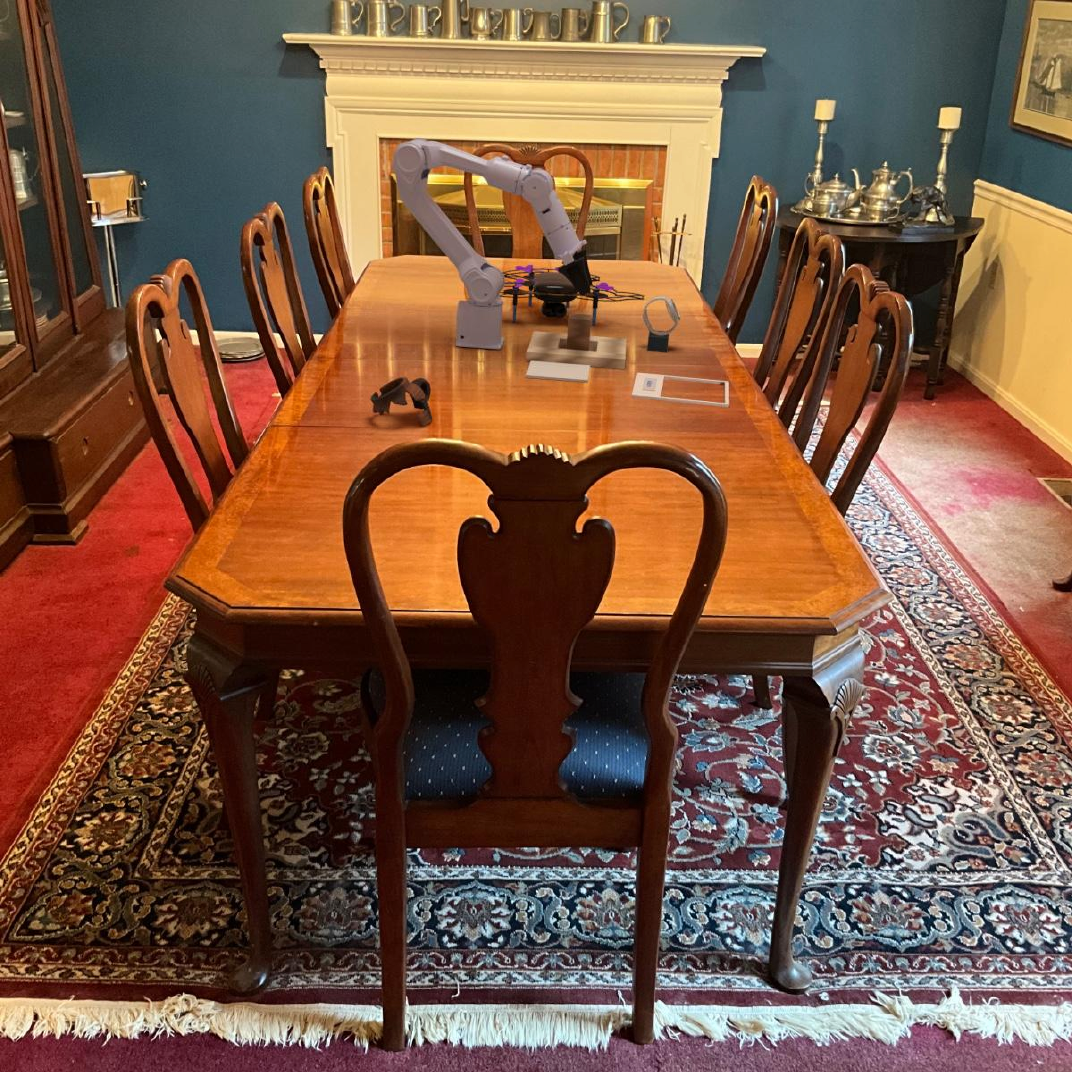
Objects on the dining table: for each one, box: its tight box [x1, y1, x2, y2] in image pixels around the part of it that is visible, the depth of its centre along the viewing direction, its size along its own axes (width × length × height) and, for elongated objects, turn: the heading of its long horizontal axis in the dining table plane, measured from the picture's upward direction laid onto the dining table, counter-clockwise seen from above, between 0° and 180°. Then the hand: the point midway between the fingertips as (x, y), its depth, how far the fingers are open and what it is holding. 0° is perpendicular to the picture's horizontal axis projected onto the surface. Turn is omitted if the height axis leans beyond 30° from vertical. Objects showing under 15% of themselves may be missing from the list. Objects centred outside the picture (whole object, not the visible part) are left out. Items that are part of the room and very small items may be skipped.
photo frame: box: [631, 372, 730, 408], centre depth 204 cm, size 15×1×18 cm
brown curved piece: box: [369, 376, 433, 428], centre depth 181 cm, size 12×10×8 cm
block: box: [566, 312, 593, 351], centre depth 221 cm, size 4×4×8 cm
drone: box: [499, 264, 646, 327], centre depth 250 cm, size 40×10×28 cm
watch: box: [642, 295, 681, 353], centre depth 228 cm, size 6×8×11 cm
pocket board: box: [525, 330, 627, 370], centre depth 222 cm, size 20×16×2 cm
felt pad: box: [525, 361, 591, 383], centre depth 210 cm, size 12×10×1 cm
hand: (587, 290), depth 217 cm, fingers open, 7 cm apart
